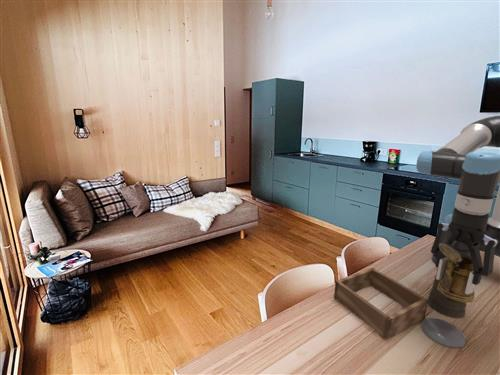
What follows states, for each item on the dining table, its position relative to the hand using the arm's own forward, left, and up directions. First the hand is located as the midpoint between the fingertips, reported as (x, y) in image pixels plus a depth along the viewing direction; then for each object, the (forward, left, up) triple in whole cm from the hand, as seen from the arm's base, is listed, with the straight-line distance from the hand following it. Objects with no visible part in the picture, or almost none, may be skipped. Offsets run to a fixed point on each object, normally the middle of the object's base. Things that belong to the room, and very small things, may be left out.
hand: (453, 284), depth 78 cm
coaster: (0, 0, -17) cm, 17 cm away
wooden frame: (+8, -17, -17) cm, 25 cm away
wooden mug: (0, 0, -4) cm, 4 cm away
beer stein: (-15, -8, -17) cm, 24 cm away
